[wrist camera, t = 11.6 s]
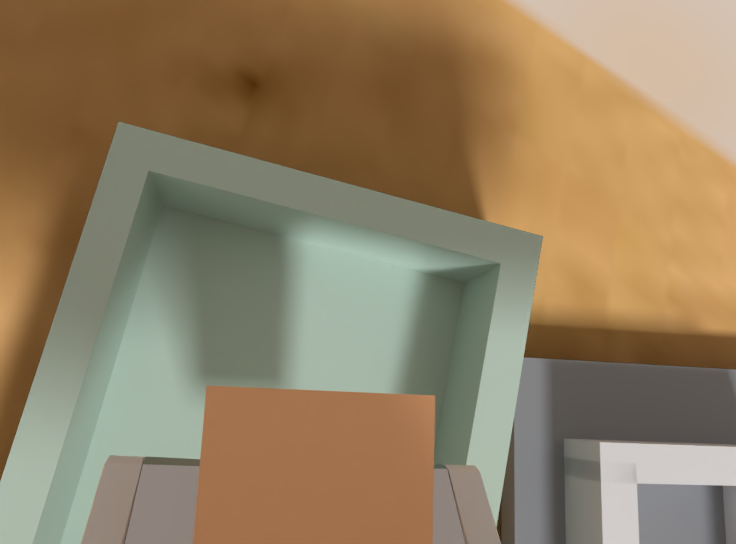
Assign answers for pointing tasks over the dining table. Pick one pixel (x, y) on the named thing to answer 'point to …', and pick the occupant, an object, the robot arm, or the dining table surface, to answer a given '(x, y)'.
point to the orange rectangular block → (315, 467)
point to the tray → (260, 318)
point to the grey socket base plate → (621, 455)
